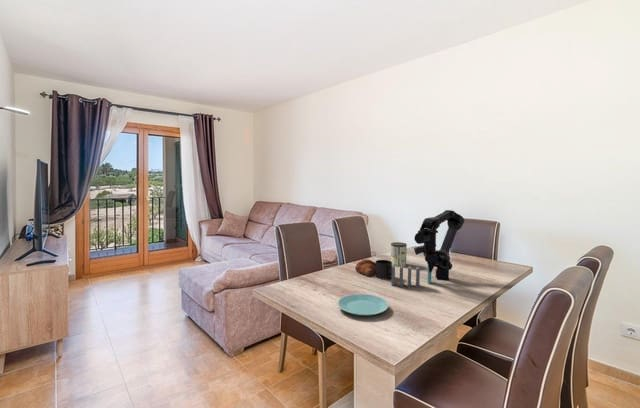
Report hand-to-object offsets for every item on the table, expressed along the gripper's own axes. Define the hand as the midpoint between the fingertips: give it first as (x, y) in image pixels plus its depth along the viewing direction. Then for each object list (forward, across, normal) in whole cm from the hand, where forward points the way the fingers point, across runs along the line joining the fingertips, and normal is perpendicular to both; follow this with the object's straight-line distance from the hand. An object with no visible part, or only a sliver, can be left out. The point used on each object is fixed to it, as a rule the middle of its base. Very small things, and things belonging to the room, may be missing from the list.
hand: (429, 269), depth 169 cm
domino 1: (+7, +8, -19) cm, 22 cm away
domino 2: (+7, +8, -15) cm, 19 cm away
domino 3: (+7, +8, -11) cm, 15 cm away
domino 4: (+7, +8, -7) cm, 13 cm away
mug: (+8, -3, -24) cm, 25 cm away
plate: (+7, +44, -31) cm, 55 cm away
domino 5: (+7, 0, 0) cm, 7 cm away
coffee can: (+8, -34, -17) cm, 39 cm away
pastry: (+8, -12, -36) cm, 39 cm away
